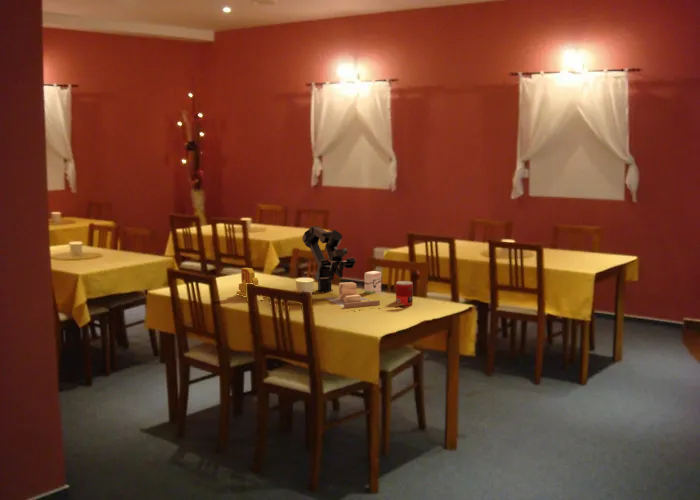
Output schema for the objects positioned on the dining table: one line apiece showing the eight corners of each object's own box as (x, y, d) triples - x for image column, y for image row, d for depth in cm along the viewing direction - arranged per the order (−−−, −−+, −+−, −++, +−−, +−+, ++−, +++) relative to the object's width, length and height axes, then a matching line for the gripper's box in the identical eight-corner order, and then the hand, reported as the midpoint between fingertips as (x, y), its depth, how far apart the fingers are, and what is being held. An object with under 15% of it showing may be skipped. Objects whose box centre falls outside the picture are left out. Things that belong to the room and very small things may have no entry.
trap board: (324, 301, 371) (324, 298, 371) (358, 297, 378) (358, 294, 378) (338, 308, 355) (338, 305, 355) (373, 304, 362) (373, 301, 362)
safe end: (338, 308, 355) (338, 301, 354) (373, 304, 362) (373, 297, 362) (344, 311, 349) (344, 303, 348) (379, 307, 356) (379, 300, 355)
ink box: (371, 296, 381) (371, 273, 379) (363, 295, 384) (363, 272, 382) (381, 294, 388) (381, 271, 386) (373, 292, 391) (373, 270, 389)
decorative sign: (263, 300, 373) (263, 270, 371) (259, 301, 371) (258, 271, 369) (241, 294, 388) (240, 265, 386) (236, 295, 386) (235, 266, 384)
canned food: (411, 307, 357) (411, 284, 356) (394, 306, 359) (394, 283, 357) (413, 303, 365) (413, 281, 363) (397, 302, 366) (397, 280, 365)
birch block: (339, 299, 368) (339, 283, 367) (352, 297, 371) (352, 281, 370) (347, 303, 359) (347, 286, 358) (360, 301, 362) (360, 285, 361)
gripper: (319, 243, 372) (328, 269, 363) (354, 241, 379) (363, 266, 371) (314, 257, 380) (322, 282, 372) (348, 255, 388) (356, 279, 379)
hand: (341, 277), depth 373 cm, fingers closed
